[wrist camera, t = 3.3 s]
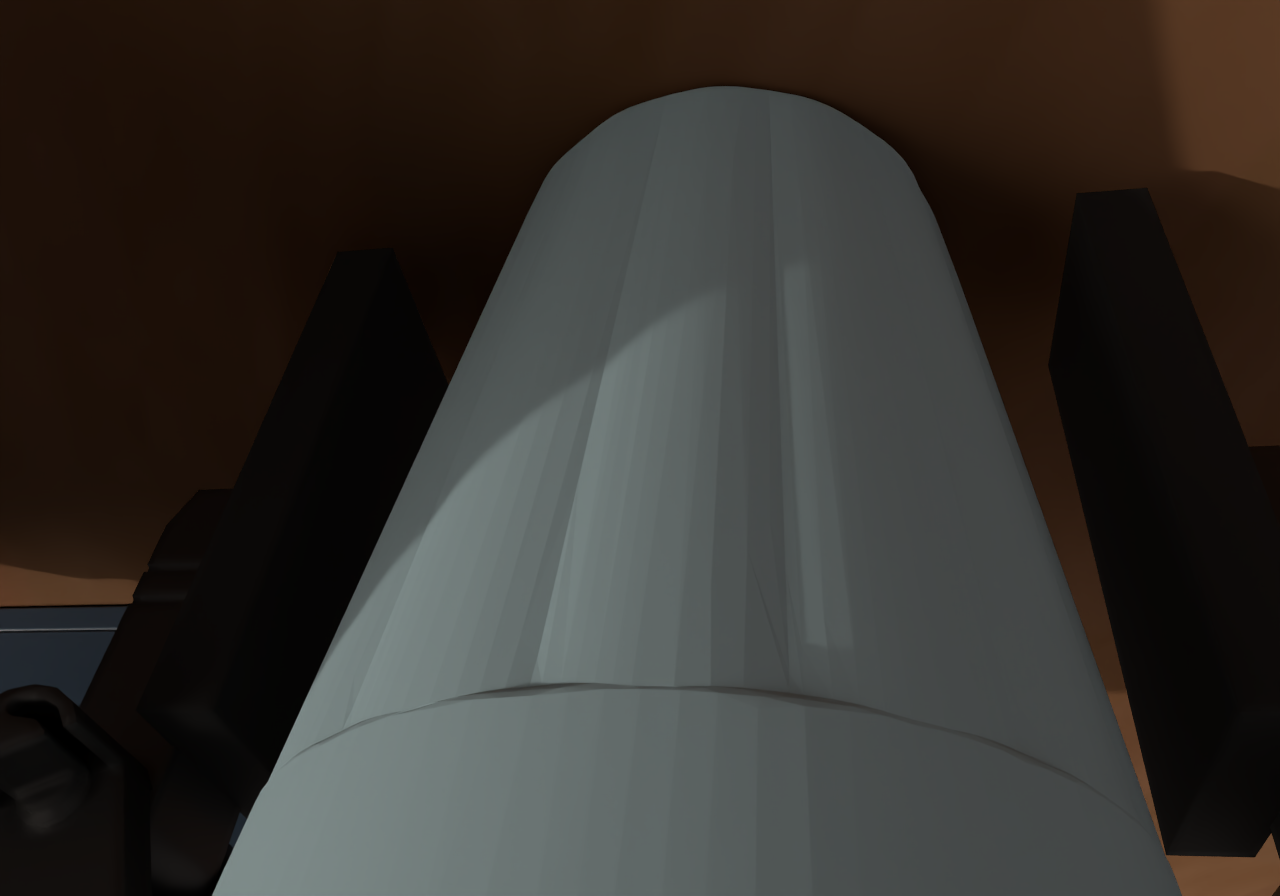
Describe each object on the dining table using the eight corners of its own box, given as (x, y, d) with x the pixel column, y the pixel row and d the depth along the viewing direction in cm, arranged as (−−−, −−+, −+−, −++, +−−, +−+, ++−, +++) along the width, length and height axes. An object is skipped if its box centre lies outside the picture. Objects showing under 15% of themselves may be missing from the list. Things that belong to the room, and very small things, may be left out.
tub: (-289, 612, 24) (-483, 859, 20) (652, 594, 20) (624, 894, 17) (65, 861, 35) (-20, 1053, 31) (728, 880, 31) (721, 1102, 27)
